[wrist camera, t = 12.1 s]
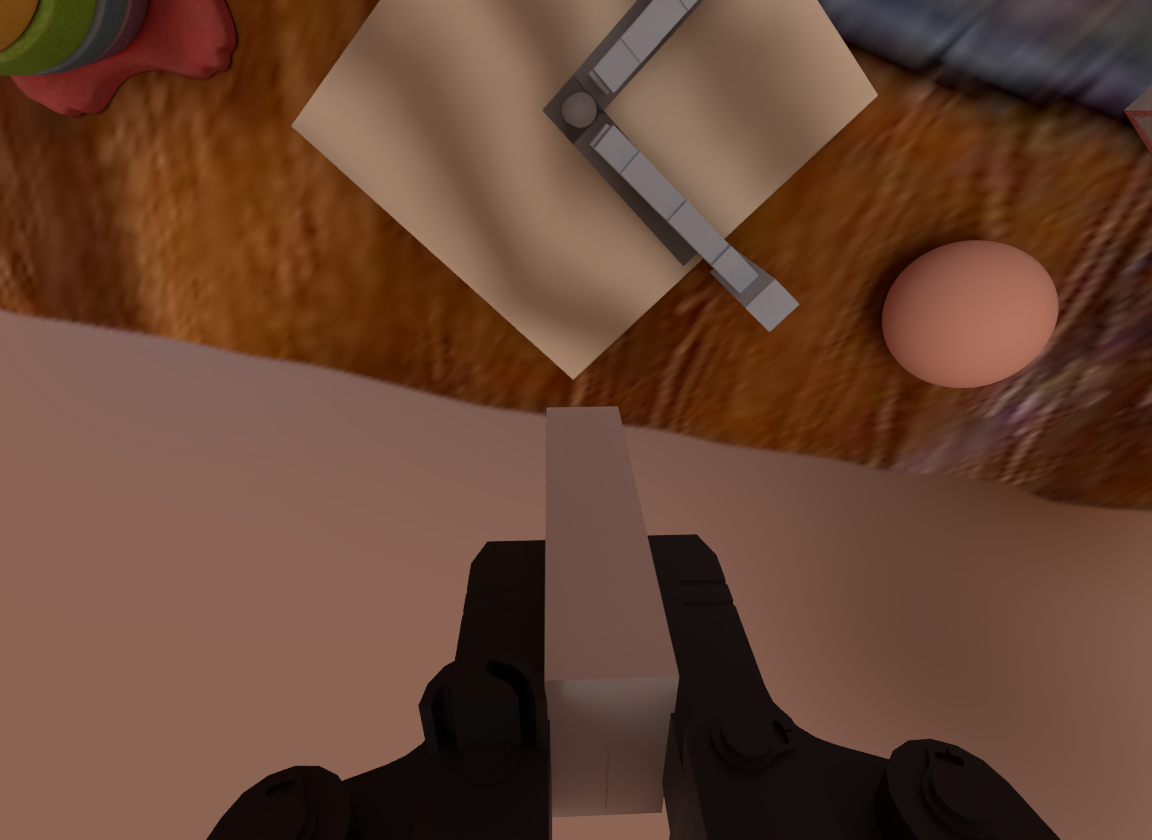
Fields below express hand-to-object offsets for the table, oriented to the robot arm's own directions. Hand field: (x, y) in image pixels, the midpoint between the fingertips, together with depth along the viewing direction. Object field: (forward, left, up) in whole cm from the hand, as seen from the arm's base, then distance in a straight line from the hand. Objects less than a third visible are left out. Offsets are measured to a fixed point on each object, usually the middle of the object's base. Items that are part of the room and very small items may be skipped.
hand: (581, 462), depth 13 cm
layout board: (-5, -4, -23) cm, 24 cm away
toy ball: (-13, +18, -23) cm, 32 cm away
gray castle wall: (-6, +3, -22) cm, 23 cm away
